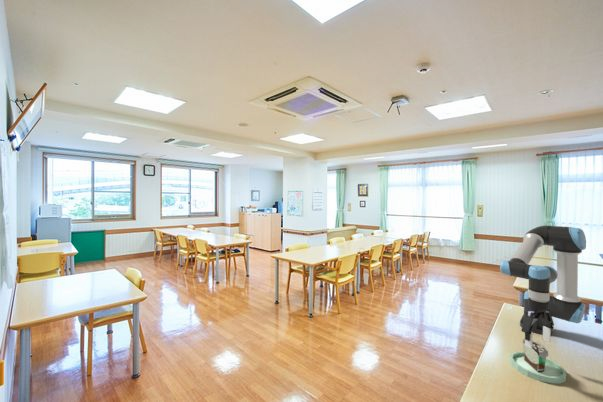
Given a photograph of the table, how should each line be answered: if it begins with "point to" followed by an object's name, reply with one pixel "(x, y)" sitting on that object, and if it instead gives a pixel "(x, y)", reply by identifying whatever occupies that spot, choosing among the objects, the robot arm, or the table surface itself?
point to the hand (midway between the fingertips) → (537, 343)
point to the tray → (550, 374)
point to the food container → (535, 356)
